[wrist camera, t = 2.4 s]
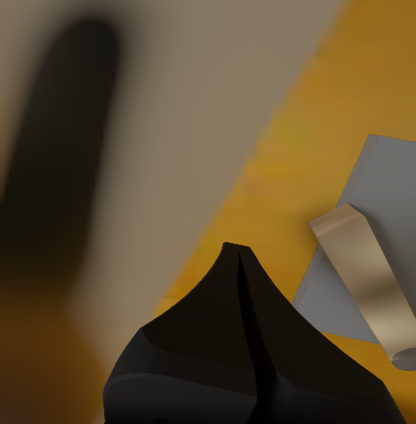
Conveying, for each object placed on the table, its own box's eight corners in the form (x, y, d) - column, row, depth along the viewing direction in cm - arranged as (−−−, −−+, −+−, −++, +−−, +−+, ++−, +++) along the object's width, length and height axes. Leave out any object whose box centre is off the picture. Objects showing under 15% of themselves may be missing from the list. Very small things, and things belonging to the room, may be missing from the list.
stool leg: (416, 337, 20) (438, 365, 18) (381, 347, 21) (398, 374, 19) (346, 202, 15) (365, 216, 13) (307, 222, 16) (318, 238, 14)
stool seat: (422, 343, 22) (432, 355, 21) (286, 314, 22) (289, 324, 21) (580, 172, 14) (608, 177, 13) (369, 134, 15) (380, 135, 14)
